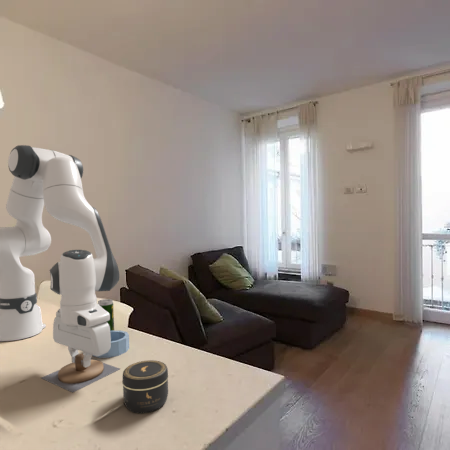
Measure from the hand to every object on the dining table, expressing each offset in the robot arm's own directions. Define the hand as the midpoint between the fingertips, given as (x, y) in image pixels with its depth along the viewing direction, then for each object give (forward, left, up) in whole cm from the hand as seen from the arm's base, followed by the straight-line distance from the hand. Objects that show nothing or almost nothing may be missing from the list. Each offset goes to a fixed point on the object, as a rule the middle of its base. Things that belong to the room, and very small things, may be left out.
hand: (81, 364), depth 89 cm
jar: (+24, 0, -3) cm, 24 cm away
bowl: (-6, +14, -3) cm, 16 cm away
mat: (0, 0, -3) cm, 3 cm away
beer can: (-21, +24, -3) cm, 32 cm away
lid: (0, 0, -2) cm, 2 cm away
